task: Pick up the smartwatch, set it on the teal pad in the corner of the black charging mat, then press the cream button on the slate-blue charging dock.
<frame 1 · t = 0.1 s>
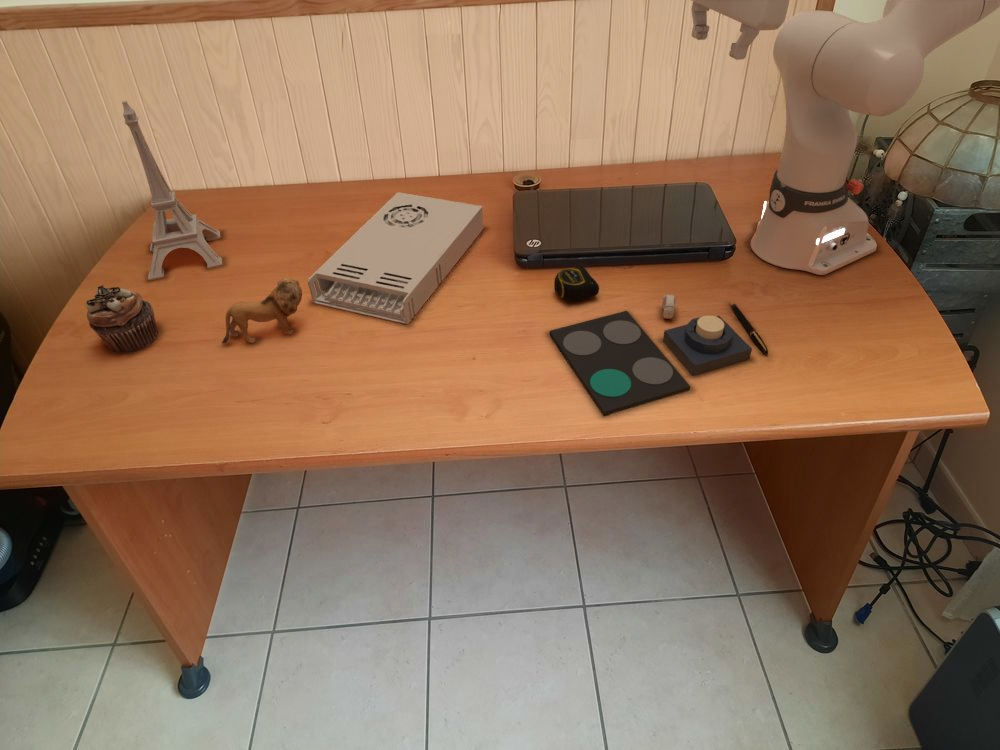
hand: (717, 48, 98), 39 cm above the table, tool pointing down, fingers open, 8 cm apart
fountain pen: (746, 329, 113), on the table
dock: (705, 350, 109), on the table
charging mat: (616, 361, 108), on the table
lion figurine: (270, 331, 117), on the table
tape measure: (576, 293, 122), on the table
eiffel tower: (186, 256, 136), on the table
power supply unit: (404, 264, 131), on the table
smartwatch: (667, 316, 116), on the table
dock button: (709, 327, 106), point 4 cm above the table, slide at 0.1 cm
cupcake: (133, 339, 117), on the table
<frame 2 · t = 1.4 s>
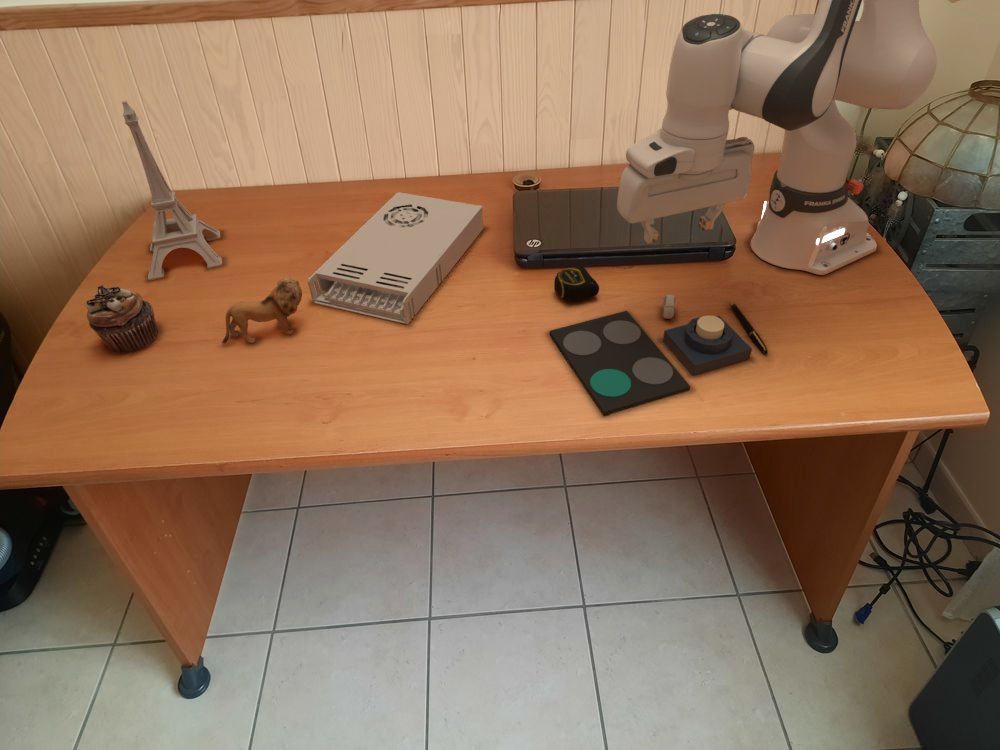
hand: (678, 234, 106), 15 cm above the table, tool pointing down, fingers open, 8 cm apart
nothing on the table moved.
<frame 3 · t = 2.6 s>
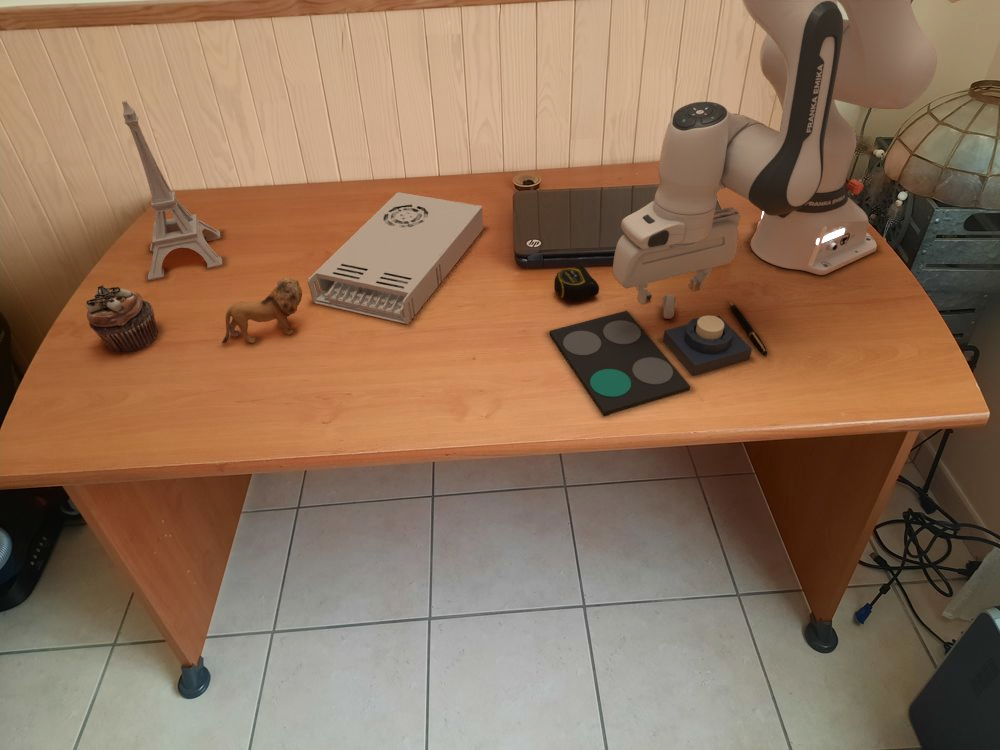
hand: (669, 295, 112), 5 cm above the table, tool pointing down, fingers open, 8 cm apart
nothing on the table moved.
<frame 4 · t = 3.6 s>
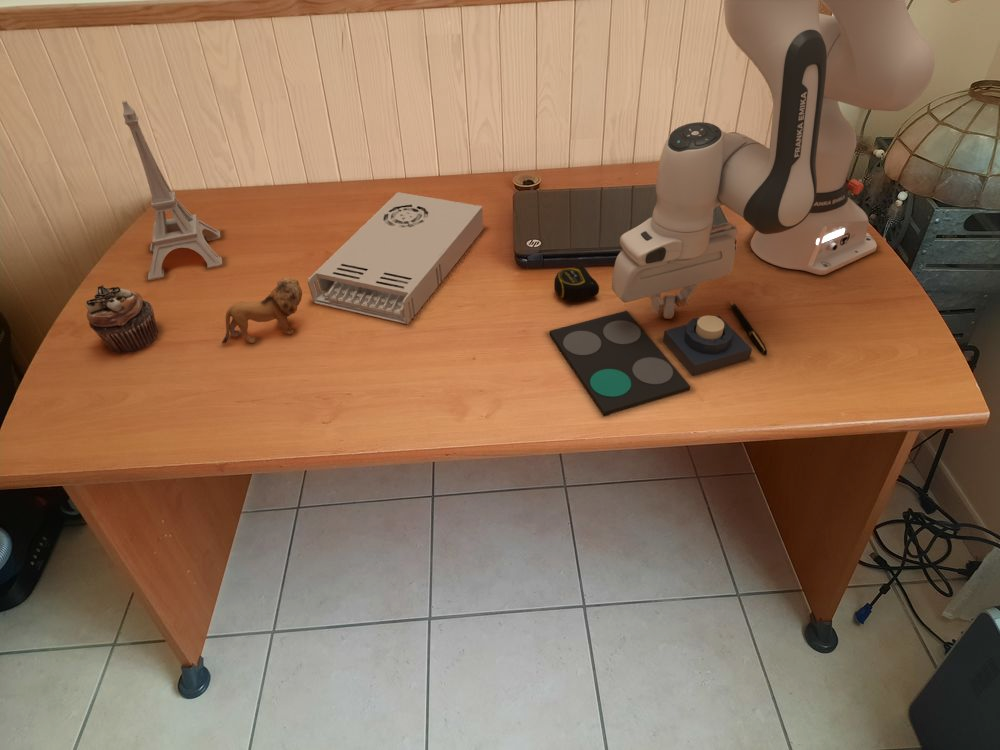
hand: (668, 307, 115), 2 cm above the table, tool pointing down, fingers closed on smartwatch, 3 cm apart
smartwatch: (667, 316, 116), on the table, touching gripper
everything else where it was.
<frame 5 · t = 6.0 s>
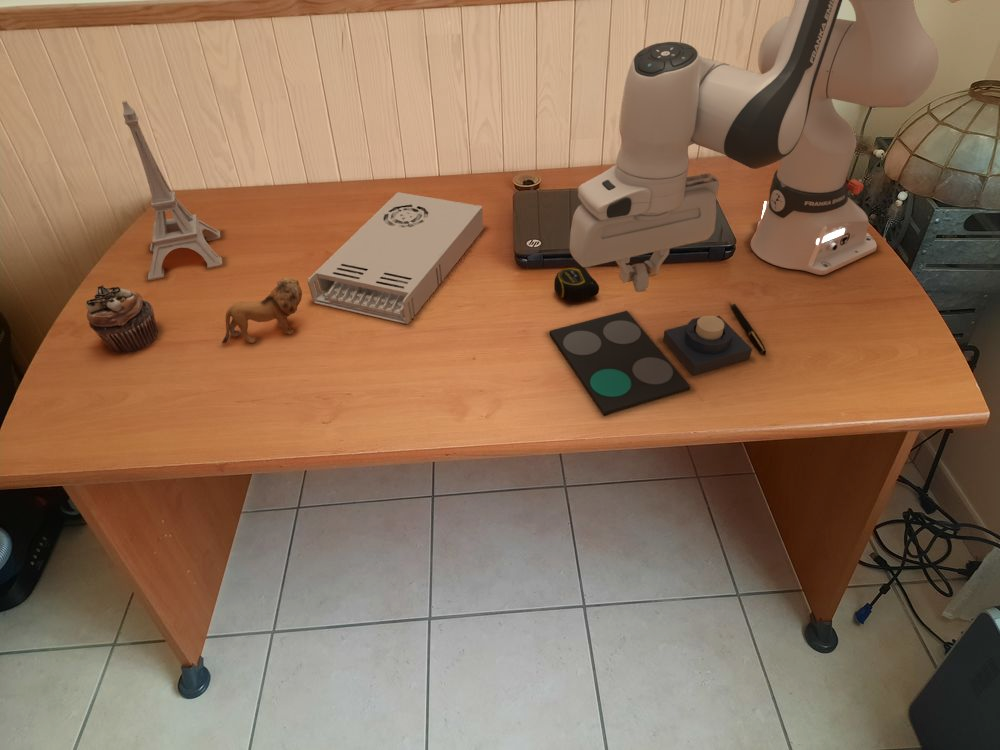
hand: (638, 277, 97), 16 cm above the table, tool pointing down, fingers closed on smartwatch, 2 cm apart
smartwatch: (638, 289, 98), point 14 cm above the table, touching gripper
everything else where it was.
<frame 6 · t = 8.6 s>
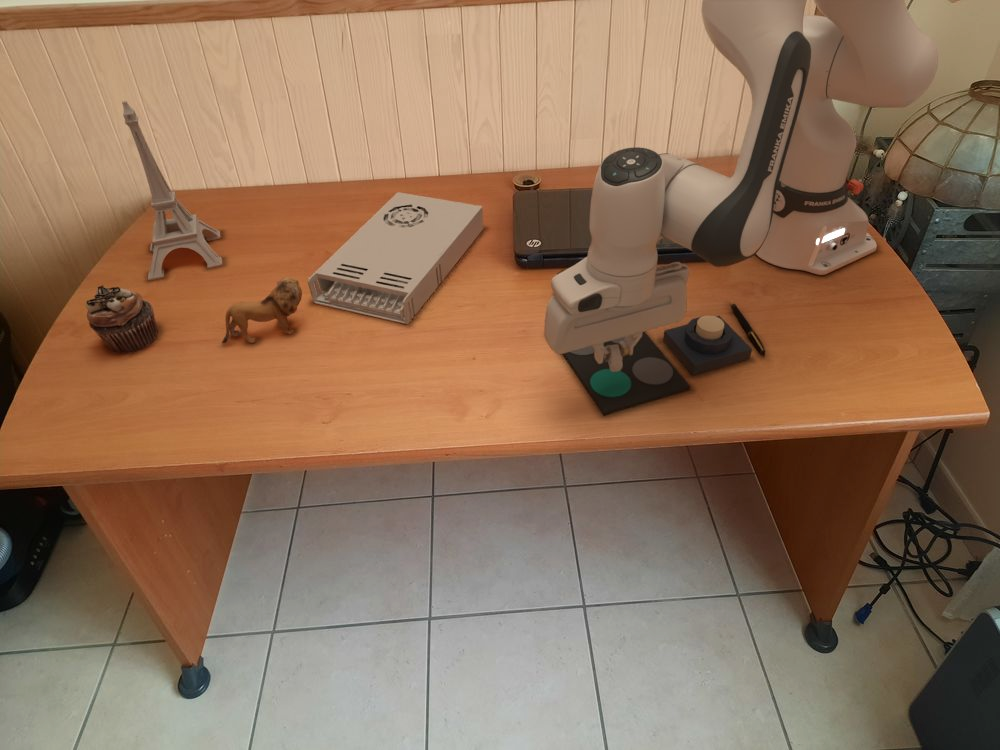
hand: (613, 357, 100), 6 cm above the table, tool pointing down, fingers closed on smartwatch, 2 cm apart
smartwatch: (613, 368, 101), point 4 cm above the table, touching gripper
everything else where it was.
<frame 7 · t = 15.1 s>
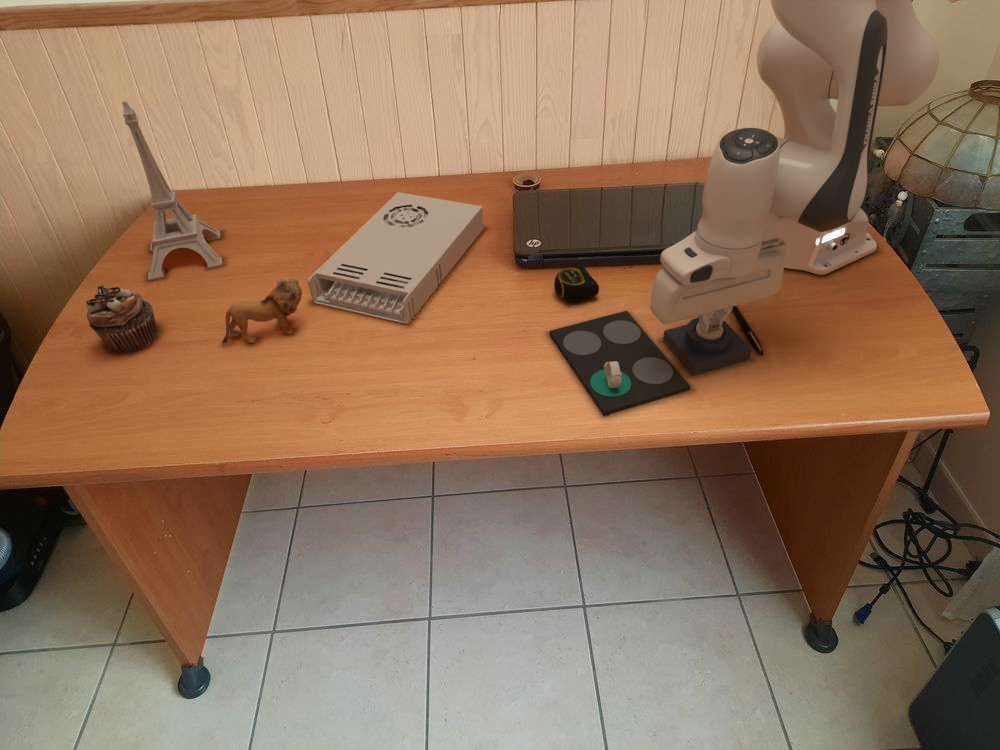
hand: (709, 328, 106), 4 cm above the table, tool pointing down, fingers closed, pressing on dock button
smartwatch: (611, 385, 103), point 1 cm above the table, touching charging mat
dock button: (708, 332, 107), point 4 cm above the table, slide at -0.9 cm, touching gripper
everything else where it was.
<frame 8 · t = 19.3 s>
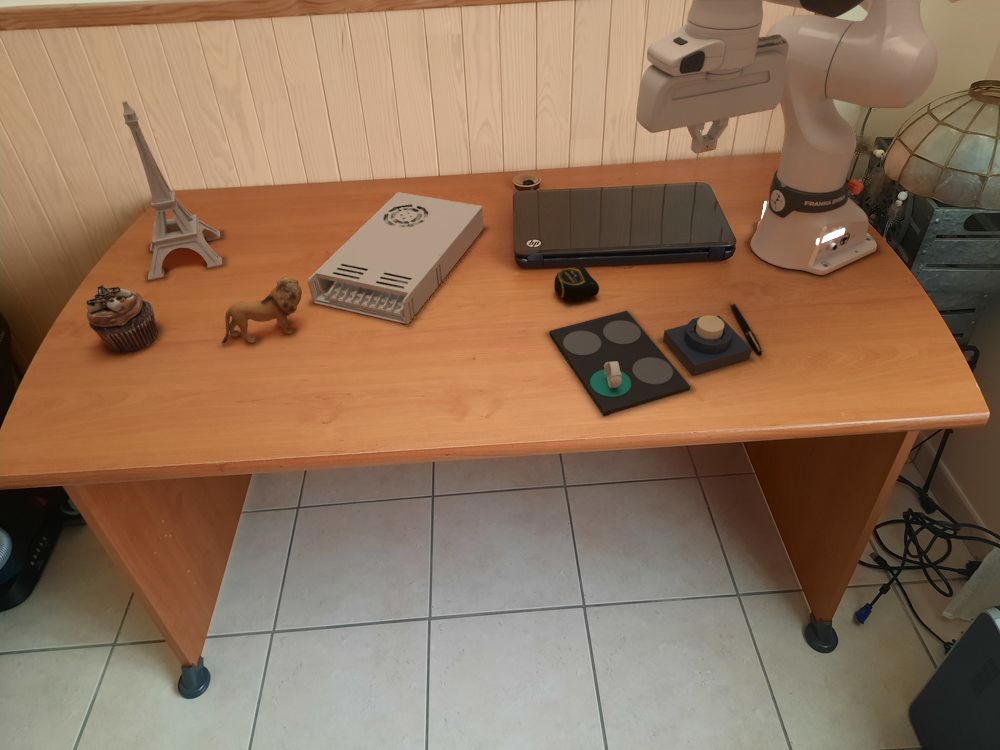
hand: (703, 150, 96), 29 cm above the table, tool pointing down, fingers closed
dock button: (709, 327, 106), point 4 cm above the table, slide at 0.1 cm
everything else where it was.
at the end: smartwatch 0.4 cm from the target spot on the charging mat, point 0.8 cm above the charging mat's base; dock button pushed in 1.0 cm at the most during the clip, back to where it started at the end; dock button slide at 0.1 cm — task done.
